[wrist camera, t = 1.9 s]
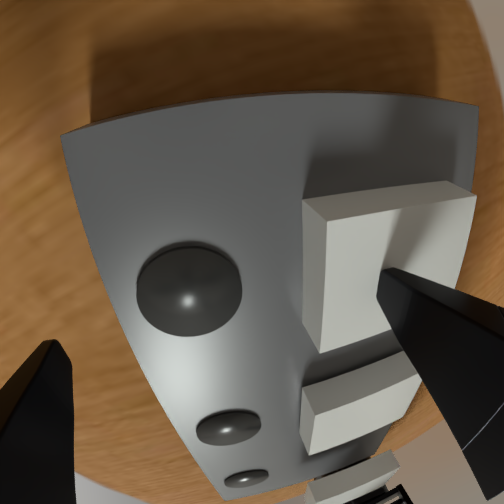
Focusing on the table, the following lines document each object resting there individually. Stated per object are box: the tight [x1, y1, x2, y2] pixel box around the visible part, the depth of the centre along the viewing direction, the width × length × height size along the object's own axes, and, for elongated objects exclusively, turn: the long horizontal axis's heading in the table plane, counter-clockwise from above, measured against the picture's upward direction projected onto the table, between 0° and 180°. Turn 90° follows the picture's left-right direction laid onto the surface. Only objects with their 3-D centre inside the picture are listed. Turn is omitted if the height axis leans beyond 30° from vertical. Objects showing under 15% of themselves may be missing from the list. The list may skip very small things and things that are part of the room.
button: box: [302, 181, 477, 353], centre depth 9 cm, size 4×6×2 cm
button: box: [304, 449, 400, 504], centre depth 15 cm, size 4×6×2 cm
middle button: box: [299, 351, 422, 455], centre depth 13 cm, size 4×6×2 cm
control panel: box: [60, 90, 479, 501], centre depth 15 cm, size 26×13×3 cm, turn 5°
